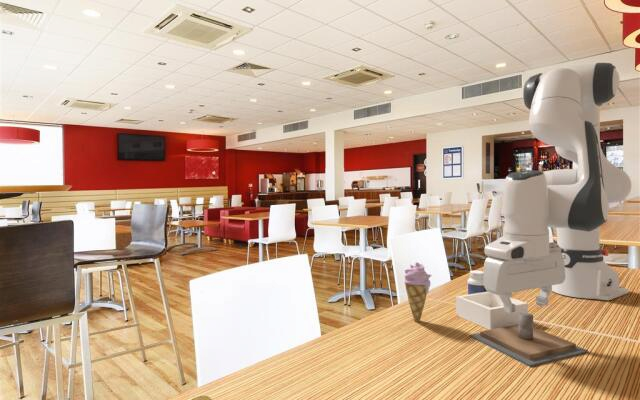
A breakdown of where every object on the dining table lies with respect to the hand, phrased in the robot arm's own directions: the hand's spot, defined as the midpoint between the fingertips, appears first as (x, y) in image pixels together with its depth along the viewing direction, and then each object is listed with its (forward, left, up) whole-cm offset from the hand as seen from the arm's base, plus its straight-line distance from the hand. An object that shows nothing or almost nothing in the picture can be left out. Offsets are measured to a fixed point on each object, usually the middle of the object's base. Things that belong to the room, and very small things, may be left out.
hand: (526, 308), depth 83 cm
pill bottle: (-9, -25, -8) cm, 28 cm away
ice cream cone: (+14, -21, -8) cm, 26 cm away
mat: (+1, 0, -8) cm, 8 cm away
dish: (-4, -15, -8) cm, 17 cm away
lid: (0, 0, -7) cm, 7 cm away
